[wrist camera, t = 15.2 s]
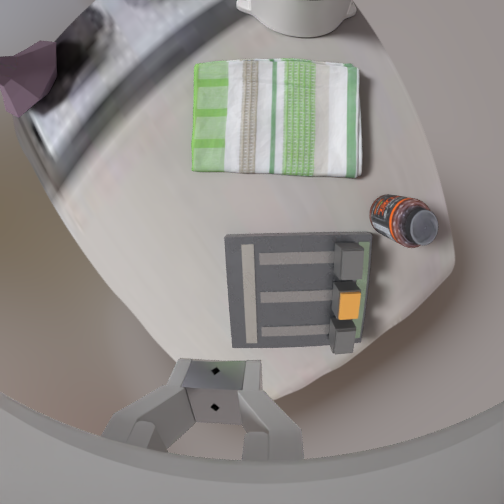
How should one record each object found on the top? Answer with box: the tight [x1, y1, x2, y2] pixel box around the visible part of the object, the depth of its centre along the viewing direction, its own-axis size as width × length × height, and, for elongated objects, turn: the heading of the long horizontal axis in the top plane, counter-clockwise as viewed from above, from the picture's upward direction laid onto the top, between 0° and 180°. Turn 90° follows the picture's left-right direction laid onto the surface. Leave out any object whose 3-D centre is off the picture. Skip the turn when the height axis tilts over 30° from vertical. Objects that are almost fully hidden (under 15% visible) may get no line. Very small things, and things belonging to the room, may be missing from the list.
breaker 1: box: [334, 242, 364, 280], centre depth 34 cm, size 4×3×4 cm
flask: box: [0, 41, 57, 117], centre depth 23 cm, size 16×16×20 cm
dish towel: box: [191, 58, 362, 178], centre depth 33 cm, size 17×23×4 cm
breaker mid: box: [332, 281, 361, 320], centre depth 35 cm, size 4×3×4 cm
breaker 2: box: [328, 317, 356, 354], centre depth 37 cm, size 4×3×4 cm
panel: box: [224, 232, 372, 348], centre depth 39 cm, size 17×20×2 cm
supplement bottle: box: [370, 195, 438, 248], centre depth 31 cm, size 6×6×11 cm
